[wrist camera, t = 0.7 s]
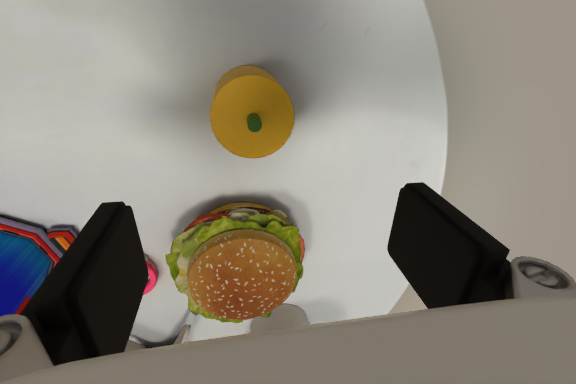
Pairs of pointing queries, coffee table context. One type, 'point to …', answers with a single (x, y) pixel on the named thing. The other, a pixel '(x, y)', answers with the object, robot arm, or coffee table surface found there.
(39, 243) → the fantasy tower
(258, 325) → the beige solid cylinder
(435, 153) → the coffee table surface
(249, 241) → the food
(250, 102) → the yellow stemmed cylinder
